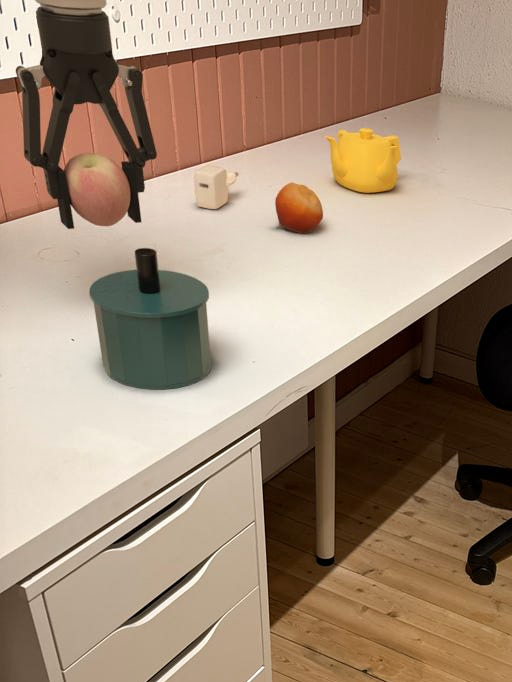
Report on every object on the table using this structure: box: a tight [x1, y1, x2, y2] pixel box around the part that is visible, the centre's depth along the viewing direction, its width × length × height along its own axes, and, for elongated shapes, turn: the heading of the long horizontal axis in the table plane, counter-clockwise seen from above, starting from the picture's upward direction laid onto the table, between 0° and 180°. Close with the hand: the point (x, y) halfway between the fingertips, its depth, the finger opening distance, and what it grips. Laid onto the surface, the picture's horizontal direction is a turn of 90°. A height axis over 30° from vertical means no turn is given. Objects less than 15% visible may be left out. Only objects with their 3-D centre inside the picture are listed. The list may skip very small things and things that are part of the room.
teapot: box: [323, 127, 402, 194], centre depth 181 cm, size 14×13×10 cm
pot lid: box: [88, 247, 210, 318], centre depth 111 cm, size 13×13×6 cm
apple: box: [63, 152, 130, 227], centre depth 118 cm, size 8×8×8 cm
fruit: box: [274, 182, 324, 234], centre depth 160 cm, size 8×8×8 cm
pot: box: [93, 302, 212, 390], centre depth 116 cm, size 13×13×9 cm
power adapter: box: [193, 164, 239, 210], centre depth 166 cm, size 11×5×6 cm, turn 168°
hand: (101, 221), depth 120 cm, fingers closed on apple, 8 cm apart
